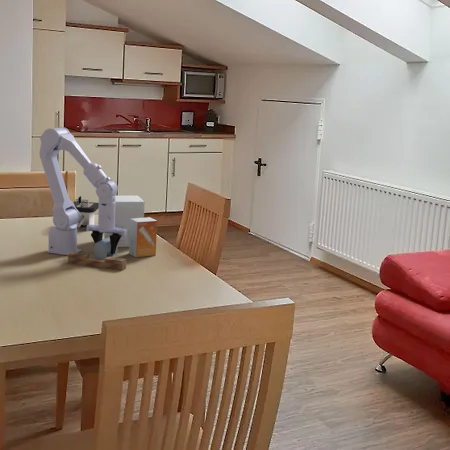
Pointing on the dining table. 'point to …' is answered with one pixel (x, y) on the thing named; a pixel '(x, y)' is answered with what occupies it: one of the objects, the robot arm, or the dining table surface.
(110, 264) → the notched rail
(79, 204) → the black-topped pedestal
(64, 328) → the dining table surface
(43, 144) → the robot arm
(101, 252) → the plain blue-gray board
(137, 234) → the small box
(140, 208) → the supplement box
